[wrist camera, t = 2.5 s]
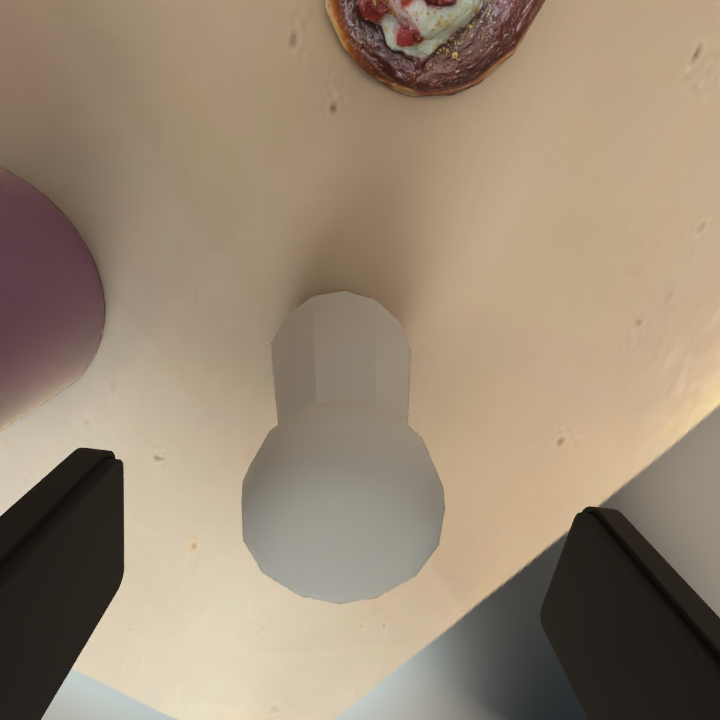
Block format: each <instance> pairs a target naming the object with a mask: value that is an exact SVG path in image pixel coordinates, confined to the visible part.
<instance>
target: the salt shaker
mask: <svg viewBox="0 0 720 720" xmlns="http://www.w3.org/2000/svg"><path fill="white" fill-rule="evenodd" d="M271 344H272V376H273V384H274V391H275V398H276V405H277V417H278V426H276V427H275V428H273V429H272V430H270V431H269V433H268V435H267V437H266V438H265V440H264V442H263V444H262V445H261V447H260V449H259V451H258V452H257V454H256V456H255V458H254V459H253V461H252V463H251V465H250V467H249V469H248V471H247V473H246V475H245V477H244V480H243V486H242V526H243V541H244V543H245V544H246V546H247V548H248V549H249V551H250V553H251V554H252V556H253V558H254V559H255V561H256V563H257V564H258V566H259V568H260V569H261V571H262V573H264V574H265V575H267V576H268V577H270V578H272V579H273V580H275V581H276V582H278V583H280V584H281V585H283V586H284V587H286V588H288V589H289V590H291V591H293V592H294V593H296V594H298V595H300V596H302V597H307V598H312V599H317V600H322V601H327V602H332V603H337V604H343V603H349V602H355V601H361V600H367V599H373V598H377V597H379V596H380V595H382V594H384V593H386V592H388V591H390V590H391V589H393V588H395V587H397V586H399V585H400V584H402V583H404V582H406V581H408V580H409V579H411V578H413V577H415V576H416V575H417V574H418V572H419V571H420V570H421V568H422V567H423V565H424V564H425V563H426V561H427V560H428V559H429V557H430V556H431V555H432V553H433V552H434V551H435V549H436V548H437V546H438V545H439V540H440V534H441V528H442V523H443V517H444V511H445V502H444V490H443V486H442V483H441V481H440V478H439V476H438V474H437V471H436V469H435V466H434V464H433V462H432V459H431V457H430V454H429V452H428V450H427V448H426V445H425V443H424V441H423V439H422V437H421V436H420V435H419V434H418V433H416V432H415V431H414V430H413V429H412V428H411V427H409V426H408V406H409V383H410V359H411V349H410V347H409V344H408V341H407V339H406V336H405V334H404V331H403V329H402V326H401V323H400V321H398V320H397V319H396V318H395V317H394V316H393V315H392V314H391V313H390V312H389V311H387V310H386V309H385V308H384V307H383V306H382V305H381V304H380V303H379V302H378V301H376V300H375V299H371V298H368V297H365V296H361V295H358V294H354V293H351V292H347V291H341V292H335V293H329V294H323V295H317V296H313V297H311V298H310V299H309V300H307V301H306V302H304V303H303V304H302V305H300V306H299V307H298V308H296V309H295V310H293V311H292V312H291V313H289V314H288V315H287V316H286V317H285V319H284V321H283V323H282V325H281V326H280V328H279V330H278V332H277V334H276V336H275V338H274V339H273V341H272V343H271Z"/></svg>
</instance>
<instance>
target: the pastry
mask: <svg viewBox="0 0 720 720" xmlns="http://www.w3.org/2000/svg"><path fill="white" fill-rule="evenodd" d="M544 2H545V0H325V10H326V12H327V14H328V16H329V18H330V20H331V22H332V24H333V26H334V28H335V31H336V33H337V35H338V37H339V39H340V41H341V43H342V45H343V47H344V48H345V50H346V51H347V52H348V53H349V54H350V55H351V56H352V58H353V59H354V60H355V61H356V62H357V63H358V64H359V65H360V66H361V67H362V68H363V70H364V71H365V72H366V73H368V74H369V75H371V76H373V77H374V78H376V79H377V80H379V81H380V82H382V83H383V84H385V85H386V86H388V87H389V88H391V89H393V90H396V91H399V92H401V93H404V94H407V95H410V96H431V95H454V94H456V93H459V92H461V91H463V90H466V89H468V88H470V87H473V86H475V85H477V84H479V83H481V82H482V81H483V80H484V79H485V78H486V77H487V76H489V75H490V74H491V73H492V72H493V71H494V70H495V69H497V68H498V67H499V66H500V65H501V64H502V63H503V62H505V61H506V60H507V59H508V58H509V57H510V56H512V55H513V53H514V52H515V50H516V49H517V47H518V46H519V44H520V43H521V41H522V39H523V37H524V36H525V34H526V32H527V31H528V29H529V27H530V26H531V24H532V22H533V20H534V19H535V17H536V15H537V14H538V12H539V10H540V8H541V7H542V5H543V3H544Z"/></svg>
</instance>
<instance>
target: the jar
mask: <svg viewBox="0 0 720 720" xmlns="http://www.w3.org/2000/svg"><path fill="white" fill-rule="evenodd" d="M103 326H104V298H103V291H102V287H101V282H100V278H99V275H98V272H97V269H96V267H95V264H94V261H93V259H92V257H91V255H90V253H89V251H88V249H87V247H86V245H85V243H84V242H83V240H82V239H81V237H80V236H79V234H78V233H77V231H76V229H75V228H74V227H73V225H72V224H71V223H70V222H69V221H68V219H67V218H66V217H65V216H64V214H63V213H62V212H61V211H60V210H59V209H58V208H57V207H56V206H55V205H54V204H53V203H52V202H51V201H50V200H49V199H48V198H47V197H45V196H44V195H43V194H41V193H40V192H39V191H38V190H36V189H35V188H34V187H33V186H31V185H30V184H29V183H27V182H25V181H24V180H22V179H21V178H19V177H18V176H16V175H14V174H13V173H11V172H9V171H7V170H5V169H3V168H1V167H0V432H1V431H2V430H4V429H5V428H7V427H8V426H10V425H11V424H13V423H14V422H16V421H17V420H19V419H20V418H22V417H23V416H25V415H26V414H28V413H29V412H31V411H32V410H34V409H35V408H37V407H38V406H40V405H41V404H43V403H44V402H46V401H47V400H49V399H50V398H52V397H53V396H55V395H56V394H58V393H59V392H61V391H62V390H64V389H65V388H67V387H68V386H70V385H71V384H72V383H73V382H74V381H76V380H77V379H78V378H79V377H80V376H81V375H82V374H83V372H84V371H85V370H86V368H87V367H88V366H89V365H90V363H91V361H92V359H93V357H94V356H95V354H96V352H97V349H98V346H99V343H100V340H101V336H102V331H103Z"/></svg>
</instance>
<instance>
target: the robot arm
mask: <svg viewBox="0 0 720 720" xmlns="http://www.w3.org/2000/svg"><path fill="white" fill-rule="evenodd" d="M123 573H124V479H123V462H122V461H121V460H118V459H115V455H114V453H113V452H112V451H107V450H99V449H90V448H78V449H76V450H75V451H74V452H73V453H71V454H70V455H69V456H68V457H67V458H66V459H65V460H64V461H62V462H61V463H60V464H59V465H58V466H57V467H56V468H55V469H53V470H52V471H51V472H50V473H49V474H48V475H47V476H45V477H44V478H43V479H42V480H41V481H40V482H39V483H38V484H36V485H35V486H34V487H33V488H32V489H31V490H30V491H28V492H27V493H26V494H25V495H24V496H23V497H22V498H21V499H19V500H18V501H17V502H16V503H15V504H14V505H13V506H12V507H10V508H9V509H8V510H7V511H6V512H5V513H4V514H2V515H1V516H0V720H41V718H42V717H43V715H44V713H45V712H46V710H47V708H48V707H49V705H50V703H51V702H52V700H53V698H54V696H55V695H56V693H57V691H58V690H59V688H60V686H61V685H62V683H63V681H64V679H65V678H66V676H67V675H68V673H69V671H70V670H71V668H72V666H73V665H74V663H75V661H76V660H77V658H78V656H79V655H80V653H81V651H82V649H83V648H84V646H85V644H86V643H87V641H88V639H89V638H90V636H91V634H92V633H93V631H94V629H95V628H96V626H97V624H98V623H99V621H100V619H101V618H102V616H103V614H104V613H105V611H106V609H107V608H108V606H109V604H110V602H111V601H112V599H113V597H114V596H115V594H116V592H117V591H118V589H119V587H120V584H121V581H122V578H123ZM540 616H541V623H542V627H543V629H544V631H545V633H546V635H547V637H548V639H549V642H550V643H551V646H552V648H553V650H554V652H555V654H556V656H557V658H558V660H559V662H560V664H561V666H562V668H563V670H564V672H565V674H566V676H567V678H568V681H569V683H570V685H571V687H572V689H573V691H574V693H575V695H576V697H577V699H578V701H579V703H580V705H581V707H582V709H583V711H584V713H585V715H586V717H587V719H588V720H720V618H719V617H718V616H717V615H716V614H715V612H714V611H713V610H712V609H711V608H710V607H709V606H708V605H707V604H706V603H705V602H704V601H703V600H702V599H701V598H700V596H699V595H698V594H696V592H695V591H694V590H693V589H692V588H691V587H690V586H689V585H688V584H687V583H686V582H685V580H684V579H682V577H681V576H680V575H679V574H678V573H677V572H676V571H675V570H674V569H673V568H672V567H671V566H670V564H669V563H667V561H666V560H665V559H664V558H663V557H662V556H661V555H660V554H659V553H658V552H657V551H656V550H655V549H654V547H653V546H652V545H651V544H650V543H649V542H648V541H647V540H646V539H645V538H644V537H643V536H642V535H641V534H640V533H639V531H637V529H635V527H634V526H633V525H632V524H631V523H630V522H629V521H628V520H627V519H626V518H625V517H624V515H623V514H622V513H620V512H619V511H618V510H615V509H608V508H599V507H591V506H590V507H586V508H585V509H584V510H583V511H582V512H581V513H578V514H577V515H576V516H575V518H574V521H573V523H572V526H571V529H570V532H569V534H568V537H567V540H566V542H565V545H564V548H563V551H562V553H561V556H560V559H559V562H558V564H557V567H556V570H555V572H554V575H553V578H552V580H551V583H550V586H549V588H548V591H547V594H546V597H545V599H544V602H543V605H542V608H541V615H540Z"/></svg>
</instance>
